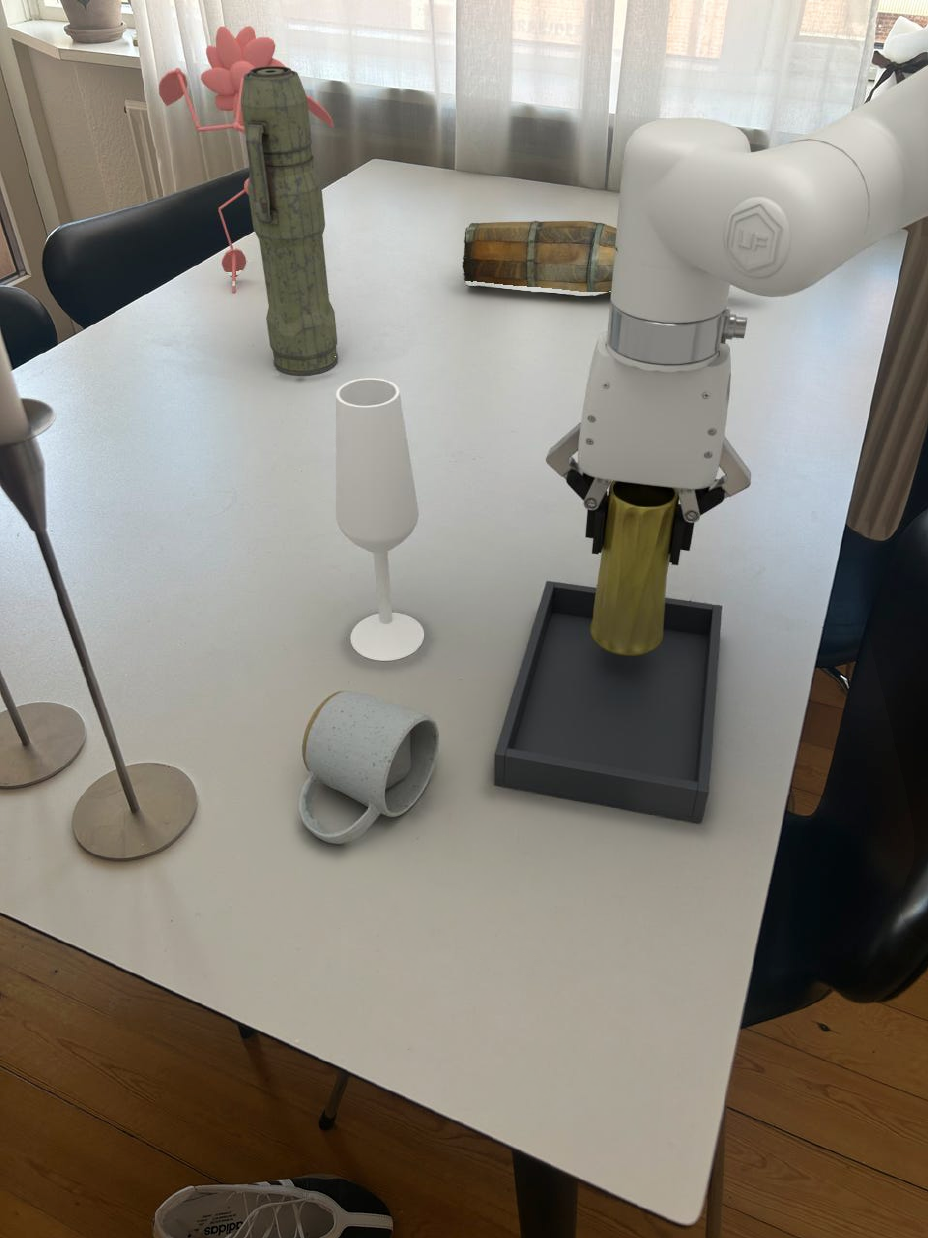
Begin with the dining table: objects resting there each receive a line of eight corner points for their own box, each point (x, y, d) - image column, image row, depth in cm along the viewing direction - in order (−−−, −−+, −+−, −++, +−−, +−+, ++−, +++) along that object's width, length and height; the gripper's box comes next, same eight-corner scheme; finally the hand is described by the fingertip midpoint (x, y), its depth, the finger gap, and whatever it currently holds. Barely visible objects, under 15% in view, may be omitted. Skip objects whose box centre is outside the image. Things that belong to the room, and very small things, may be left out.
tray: (716, 636, 87) (722, 605, 84) (701, 824, 71) (708, 792, 68) (544, 610, 90) (546, 580, 87) (493, 785, 74) (494, 753, 71)
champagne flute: (420, 609, 90) (408, 369, 75) (428, 656, 85) (417, 410, 70) (348, 616, 89) (321, 375, 74) (352, 664, 84) (323, 417, 69)
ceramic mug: (355, 731, 78) (346, 661, 73) (443, 768, 75) (439, 698, 70) (275, 824, 71) (258, 755, 66) (367, 869, 68) (357, 800, 63)
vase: (646, 666, 78) (668, 520, 69) (577, 642, 81) (589, 497, 71) (673, 624, 82) (697, 480, 73) (607, 602, 85) (622, 460, 76)
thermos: (351, 346, 135) (326, 61, 112) (321, 383, 126) (286, 82, 103) (292, 340, 136) (255, 58, 114) (258, 376, 128) (211, 79, 105)
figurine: (341, 301, 147) (315, 36, 125) (181, 292, 151) (128, 33, 128) (365, 265, 159) (346, 17, 136) (216, 257, 162) (174, 14, 140)
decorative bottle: (453, 280, 145) (762, 303, 135) (460, 206, 143) (775, 224, 133) (469, 293, 155) (757, 315, 146) (476, 223, 153) (769, 241, 144)
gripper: (797, 317, 65) (749, 537, 77) (548, 296, 69) (538, 510, 80) (798, 364, 60) (747, 594, 71) (527, 339, 63) (520, 562, 75)
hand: (636, 547), depth 76 cm, fingers closed on vase, 5 cm apart
